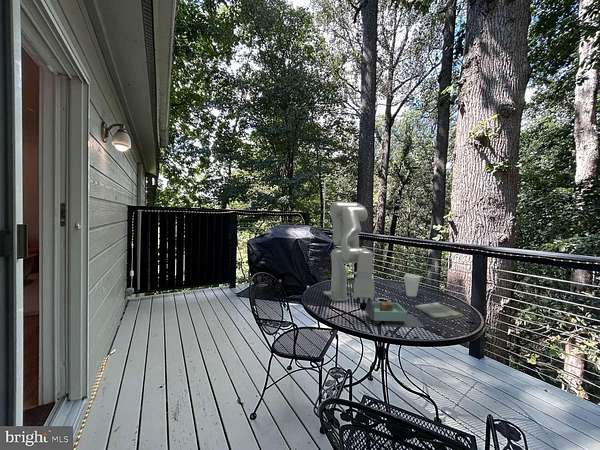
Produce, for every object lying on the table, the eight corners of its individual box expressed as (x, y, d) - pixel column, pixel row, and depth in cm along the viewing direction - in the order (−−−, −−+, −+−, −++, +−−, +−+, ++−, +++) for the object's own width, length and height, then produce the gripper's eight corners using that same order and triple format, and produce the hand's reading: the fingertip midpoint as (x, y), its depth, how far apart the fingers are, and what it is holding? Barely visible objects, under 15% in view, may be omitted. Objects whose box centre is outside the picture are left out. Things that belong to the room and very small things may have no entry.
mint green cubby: (371, 324, 146) (372, 305, 145) (364, 314, 160) (365, 296, 159) (406, 325, 146) (407, 306, 145) (396, 314, 160) (397, 297, 159)
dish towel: (435, 320, 156) (436, 314, 156) (414, 308, 173) (414, 303, 173) (464, 318, 161) (465, 312, 160) (441, 306, 178) (441, 301, 178)
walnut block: (382, 314, 150) (383, 304, 150) (379, 310, 155) (380, 301, 155) (392, 314, 150) (393, 304, 150) (389, 310, 155) (389, 301, 155)
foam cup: (411, 298, 191) (412, 278, 190) (400, 293, 200) (401, 274, 199) (422, 296, 196) (423, 276, 195) (410, 292, 204) (412, 273, 203)
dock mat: (388, 326, 145) (388, 326, 145) (378, 314, 161) (378, 313, 161) (425, 327, 145) (425, 327, 145) (411, 314, 162) (411, 314, 162)
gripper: (351, 276, 147) (349, 312, 148) (381, 276, 147) (379, 313, 149) (348, 272, 155) (346, 307, 156) (377, 273, 155) (375, 307, 156)
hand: (362, 309), depth 152 cm, fingers closed
